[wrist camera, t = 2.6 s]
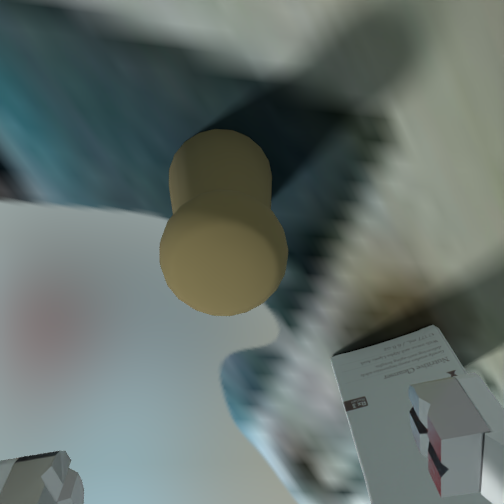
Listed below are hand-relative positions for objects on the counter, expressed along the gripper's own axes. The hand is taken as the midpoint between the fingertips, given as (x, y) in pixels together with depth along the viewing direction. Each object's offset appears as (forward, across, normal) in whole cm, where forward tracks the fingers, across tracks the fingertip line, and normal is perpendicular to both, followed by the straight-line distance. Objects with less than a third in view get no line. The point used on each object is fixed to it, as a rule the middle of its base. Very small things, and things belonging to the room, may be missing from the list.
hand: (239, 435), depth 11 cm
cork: (+19, 0, 0) cm, 19 cm away
